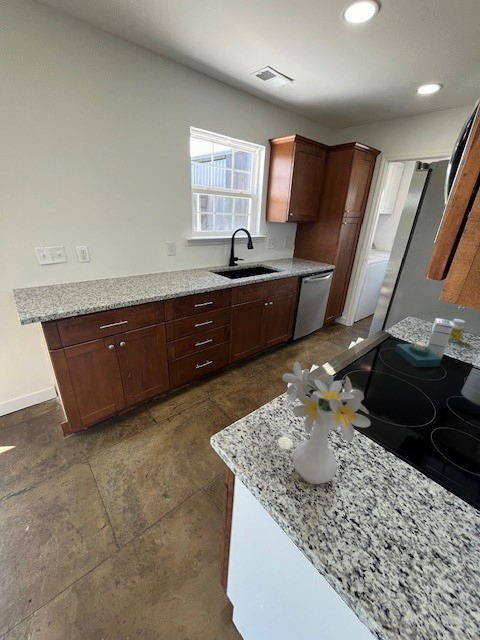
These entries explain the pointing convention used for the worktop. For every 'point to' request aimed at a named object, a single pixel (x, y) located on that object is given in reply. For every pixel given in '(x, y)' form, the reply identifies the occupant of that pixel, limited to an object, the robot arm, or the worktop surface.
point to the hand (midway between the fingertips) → (470, 314)
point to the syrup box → (439, 336)
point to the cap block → (417, 355)
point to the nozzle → (420, 345)
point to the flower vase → (322, 421)
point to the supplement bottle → (457, 330)
